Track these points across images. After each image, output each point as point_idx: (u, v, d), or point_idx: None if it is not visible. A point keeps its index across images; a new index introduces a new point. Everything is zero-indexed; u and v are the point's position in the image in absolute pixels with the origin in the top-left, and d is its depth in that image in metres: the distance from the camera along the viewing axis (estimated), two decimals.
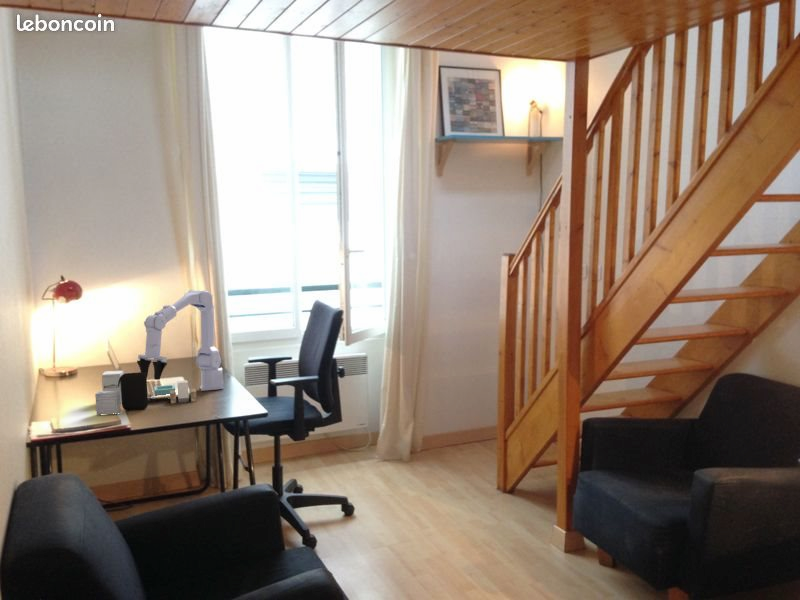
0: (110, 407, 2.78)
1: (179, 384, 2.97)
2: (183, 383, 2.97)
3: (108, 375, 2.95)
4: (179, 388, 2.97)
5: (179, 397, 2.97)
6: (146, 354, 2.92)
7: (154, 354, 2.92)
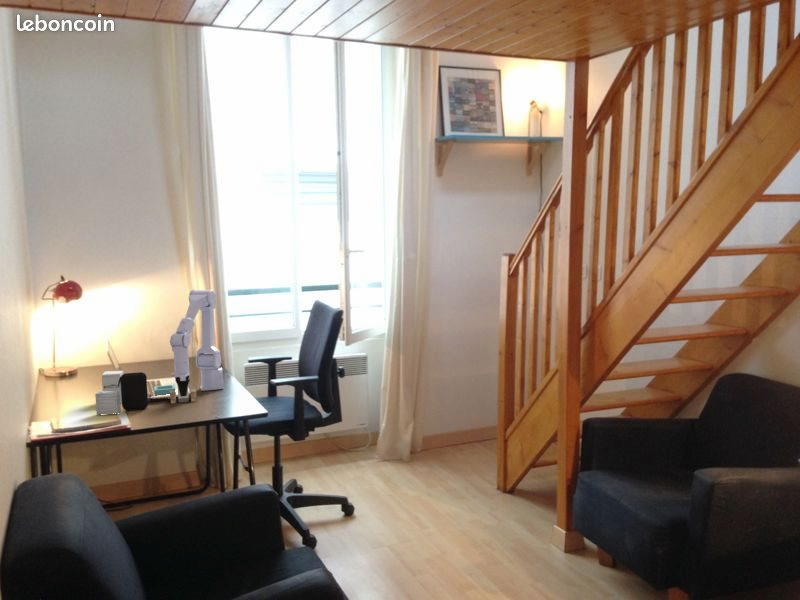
0: (110, 407, 2.78)
1: None
2: None
3: (108, 375, 2.95)
4: None
5: (179, 397, 2.97)
6: None
7: (179, 372, 2.96)
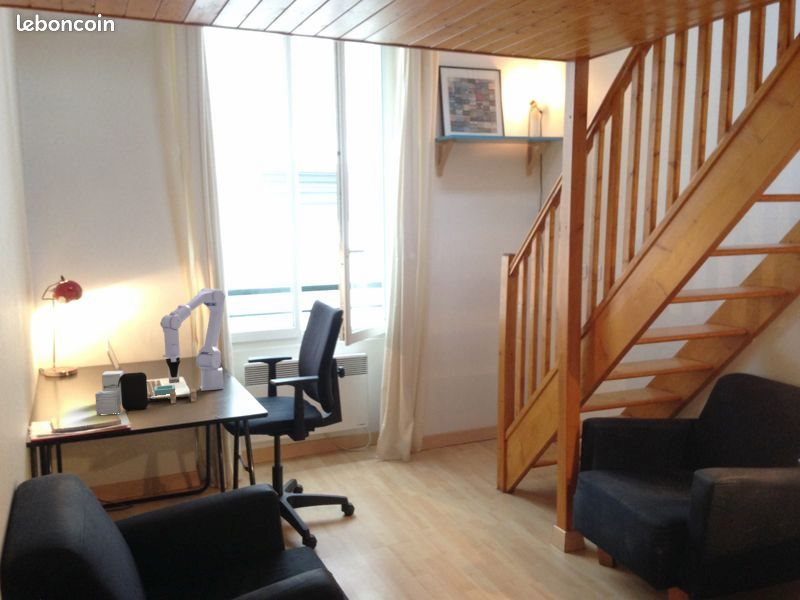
0: (110, 407, 2.78)
1: None
2: None
3: (108, 375, 2.95)
4: (169, 369, 3.01)
5: (170, 378, 3.01)
6: None
7: (169, 353, 3.00)
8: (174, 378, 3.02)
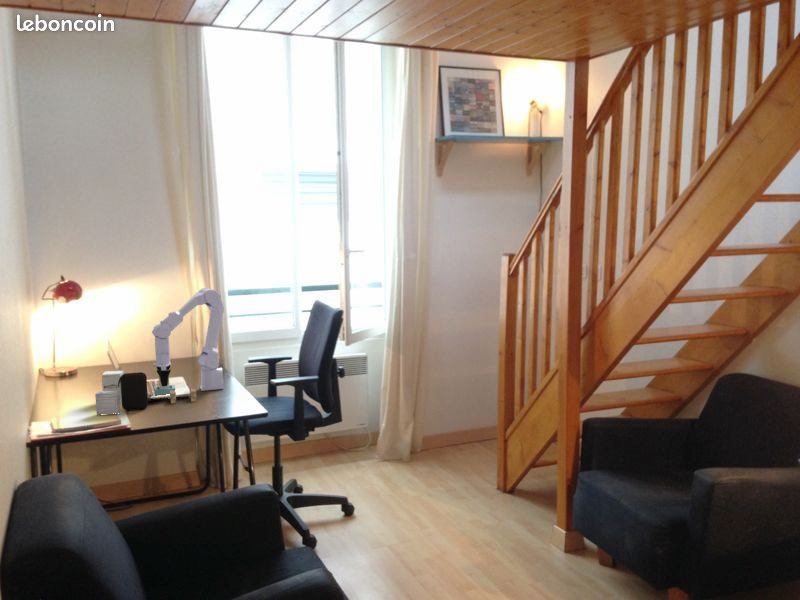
0: (110, 407, 2.78)
1: None
2: None
3: (108, 375, 2.95)
4: (160, 381, 3.07)
5: None
6: (156, 362, 3.08)
7: (160, 362, 3.06)
8: None
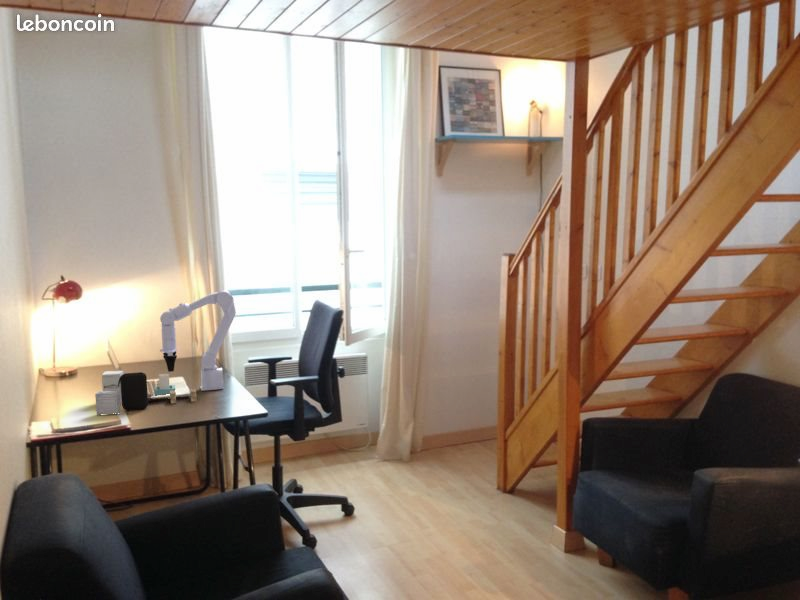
0: (110, 407, 2.78)
1: (160, 377, 3.07)
2: (164, 376, 3.07)
3: (108, 375, 2.95)
4: (160, 381, 3.07)
5: None
6: None
7: (166, 348, 3.14)
8: None
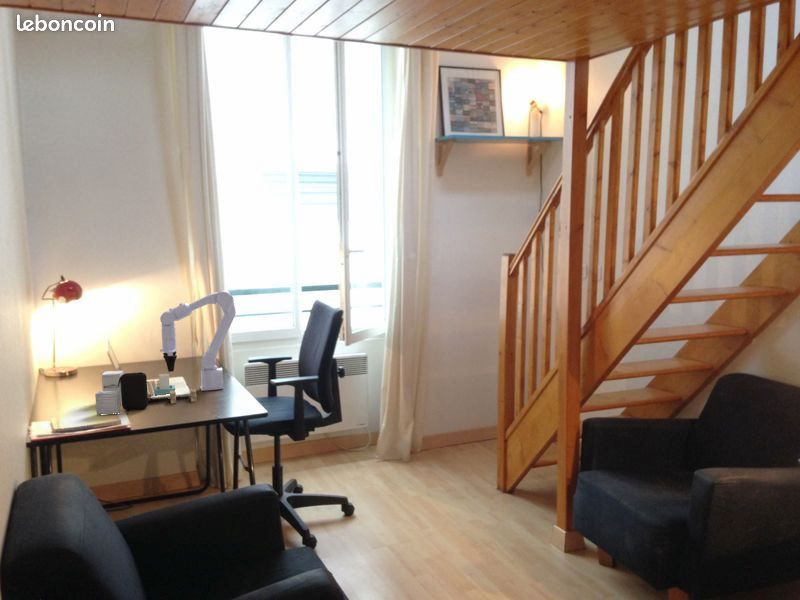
0: (110, 407, 2.78)
1: (160, 377, 3.07)
2: (164, 376, 3.07)
3: (108, 375, 2.95)
4: (160, 381, 3.07)
5: None
6: None
7: (166, 348, 3.14)
8: None
